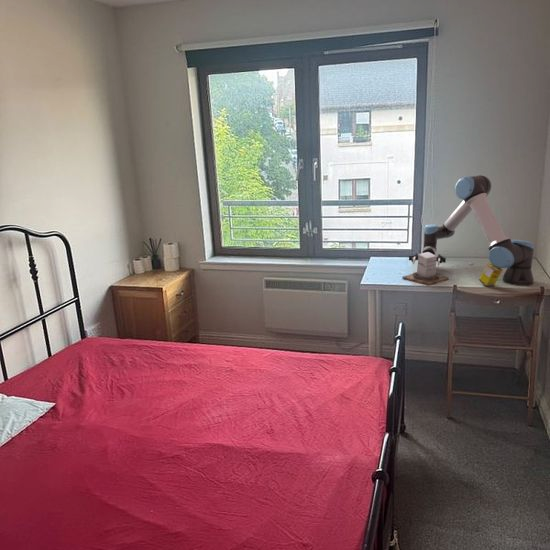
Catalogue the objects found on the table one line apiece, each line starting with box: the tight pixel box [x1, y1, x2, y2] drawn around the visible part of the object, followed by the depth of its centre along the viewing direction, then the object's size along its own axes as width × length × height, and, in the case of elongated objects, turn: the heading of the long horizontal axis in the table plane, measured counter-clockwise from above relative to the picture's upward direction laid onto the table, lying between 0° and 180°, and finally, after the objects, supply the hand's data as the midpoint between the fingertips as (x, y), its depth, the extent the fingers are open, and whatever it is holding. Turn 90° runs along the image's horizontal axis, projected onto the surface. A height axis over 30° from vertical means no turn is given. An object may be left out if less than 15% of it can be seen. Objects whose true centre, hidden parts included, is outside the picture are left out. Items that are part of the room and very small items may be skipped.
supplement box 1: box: [416, 252, 437, 277], centre depth 277 cm, size 7×7×13 cm
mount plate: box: [402, 271, 450, 286], centre depth 279 cm, size 18×18×3 cm
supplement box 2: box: [478, 263, 503, 287], centre depth 263 cm, size 6×6×11 cm
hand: (426, 262), depth 274 cm, fingers open, 13 cm apart
